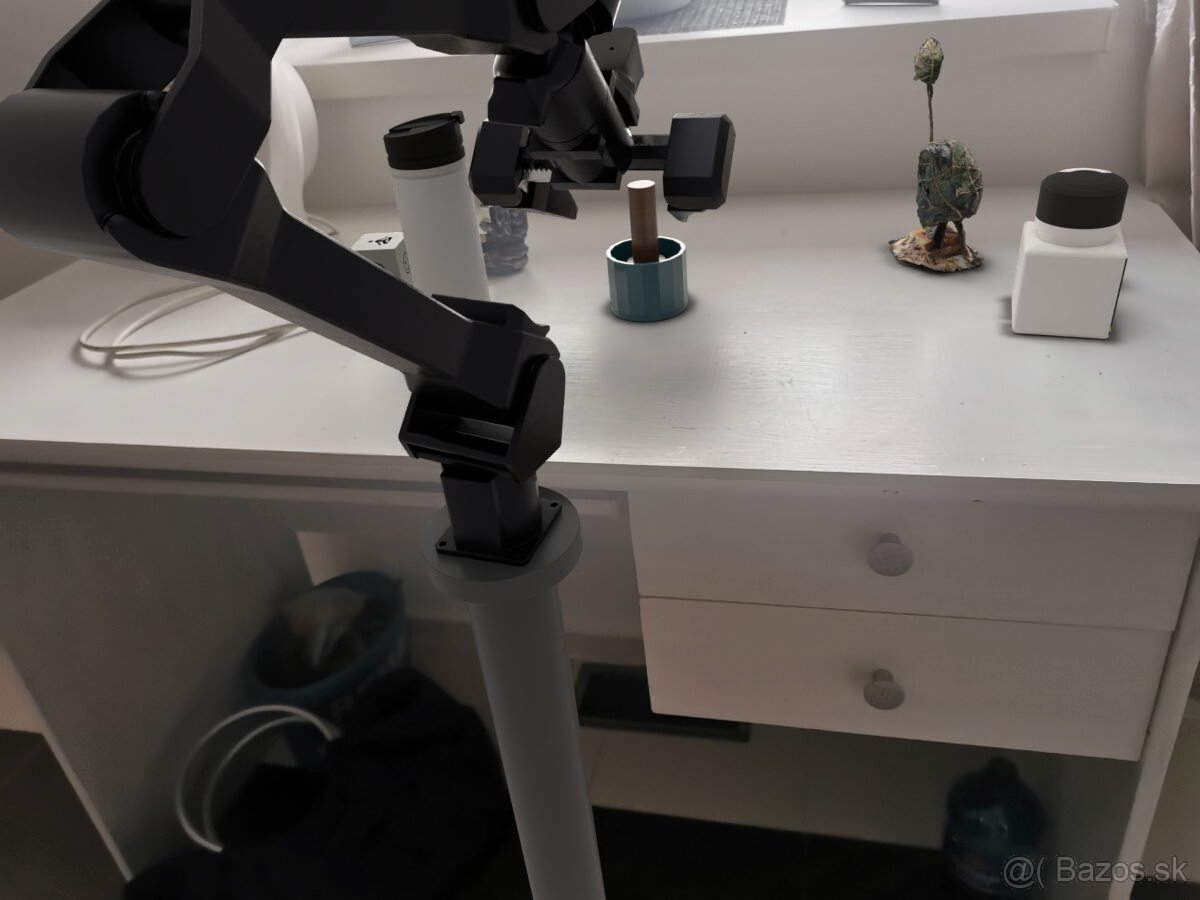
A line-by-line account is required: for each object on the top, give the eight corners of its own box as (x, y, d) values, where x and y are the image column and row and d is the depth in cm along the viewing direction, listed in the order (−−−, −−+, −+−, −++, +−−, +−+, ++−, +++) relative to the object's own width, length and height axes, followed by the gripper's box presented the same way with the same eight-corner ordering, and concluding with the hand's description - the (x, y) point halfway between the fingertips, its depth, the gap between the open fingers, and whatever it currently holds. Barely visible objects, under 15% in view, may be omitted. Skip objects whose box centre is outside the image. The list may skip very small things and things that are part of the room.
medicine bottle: (1109, 340, 72) (1144, 189, 65) (1011, 334, 74) (1036, 188, 68) (1101, 304, 77) (1133, 161, 71) (1010, 299, 80) (1033, 161, 73)
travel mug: (497, 359, 79) (457, 121, 68) (422, 365, 79) (370, 129, 68) (504, 329, 84) (468, 103, 73) (434, 334, 84) (388, 111, 74)
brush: (675, 300, 85) (670, 182, 79) (645, 312, 83) (637, 193, 77) (651, 289, 87) (644, 175, 81) (622, 301, 86) (612, 185, 80)
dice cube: (405, 295, 93) (394, 248, 91) (358, 296, 94) (347, 250, 91) (419, 276, 97) (409, 231, 95) (374, 278, 98) (364, 233, 96)
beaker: (676, 324, 82) (673, 266, 79) (600, 319, 84) (595, 262, 81) (696, 292, 87) (694, 237, 84) (625, 288, 90) (620, 234, 87)
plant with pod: (905, 286, 84) (928, 54, 73) (882, 243, 93) (899, 32, 83) (997, 281, 83) (1033, 45, 72) (964, 238, 93) (992, 24, 82)
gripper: (728, -20, 56) (760, 121, 70) (457, -2, 62) (538, 124, 76) (702, 145, 54) (740, 255, 68) (425, 146, 60) (514, 247, 74)
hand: (629, 215), depth 72 cm, fingers open, 9 cm apart
